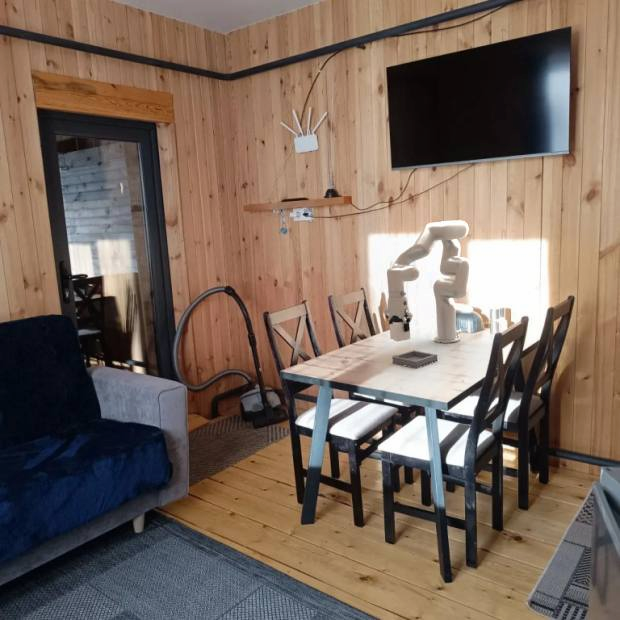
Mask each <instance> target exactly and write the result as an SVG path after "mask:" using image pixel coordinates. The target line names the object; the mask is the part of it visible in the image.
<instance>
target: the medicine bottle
mask: <svg viewBox="0 0 620 620" xmlns="http://www.w3.org/2000/svg"><path fill="white" fill-rule="evenodd" d="M404 317H405V316H404ZM392 322H393V324H390V325H389V324H388V326H389V327H390V329H389V336H390V340H393V341H395V342H401V341H407V340H410V339H411V331H410V330H411V329H410V330H409V331H407V332H404V321H403V320H402V319H400V318H399V317H398V316H392ZM389 327H388V328H389ZM409 328H411V327H410V326H409Z"/></svg>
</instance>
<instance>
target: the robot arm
mask: <svg viewBox="0 0 620 620" xmlns="http://www.w3.org/2000/svg"><path fill="white" fill-rule="evenodd" d="M468 234H469V225H468V223H467V222H466V221H464V220H445V221H444V220H443V221H440V222H429V223H428V224H426V225H425V226H424V228H423V230H422V231H421V233H420V234H419V236H418V238H417V239H416V241H415V243H414V244H413V245H412V246H410V247H409V248H408V249H406V250H405V251H404V252H401V254H400V255H399V256H398V257H397V258H396V260H395V261H394V262H393V264H392V266H391V267H390V268H388V269H387V270H386V278H387V289H388V291H387V293H388V297H387V309H386V310H384V311H383V313H384V315H385V318H386V319H387V321H388V326H389V325H390V324H393V322H392V316H398V317H399V318H400V319H402V320H403V321H404V332H407V331H409V330H411V329H410V328H411V327H410V323H411V321H412V319H413V316H414V314H413V313H412V312H410V308H409V307H410V306H409V301H408V298H407V296H406V295H407V293H406V291H405V282H414V281H416V280H417V279H418V278H419V276H420V269H419V268H418V267H417V266H415V265H413V264H412V263H414V262H416V261H418V260H421V259H424V258H426V257H427V256H429V255H430V253H431V252H432V250H433V248H434V247H435V245H436V244H437V242H438V241H441V244H442V252H441V253H442V254H441V259H440V265H439V266H440V267H439V271H440V274H441V275H443V276H445V277H446V276H447V277H454V278H439V279H437V280H436V281H434V283H433V287H432V288H433V289H432V290H433V295H434V298H435V306H436V307H435V309H436V331H437V332H436V334H437V336H435V337H434V342H437V343H440V342H441V343H443V344H447V343H449V344H451V343H457V342H460V340H461V338H460V336H458V335H459V334H462V332H463V330H462V329H459V330H458V329H457V311H456V310H457V308H456V303H455V300H454V299H459V300H461V299H464V298H465V297H466V295H467V294H468V289H469V285H470V280H471V274H472V264H471V262H470V260H469V259H468V258H466V257H460V256H461V244H460V242H459V240H460V239H463V238H466V236H468ZM404 316H405V317H404ZM409 327H410V328H409ZM388 329H389V330H390V327H388Z"/></svg>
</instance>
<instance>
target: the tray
mask: <svg viewBox="0 0 620 620" xmlns="http://www.w3.org/2000/svg"><path fill="white" fill-rule="evenodd" d="M435 361H437V362H438V361H439V357H438V354H435V353H430V352H425V351H419V350H414V349H413V350H410V351H407V352H403V353H401V354H398V355H394V356H392V364H394V363H397V364H396V365H399V364H401V365H400V366H403V365H406V366H405V367H408V366H410V367H409V368H412V367H416V368H415V369H418V368H417V367H419V368H421V367H420V366H422V367H425V366H428V365H431V364H433V363H432V362H434V363H436V362H435ZM430 363H431V364H430ZM427 364H428V365H427ZM424 365H425V366H424Z"/></svg>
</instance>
